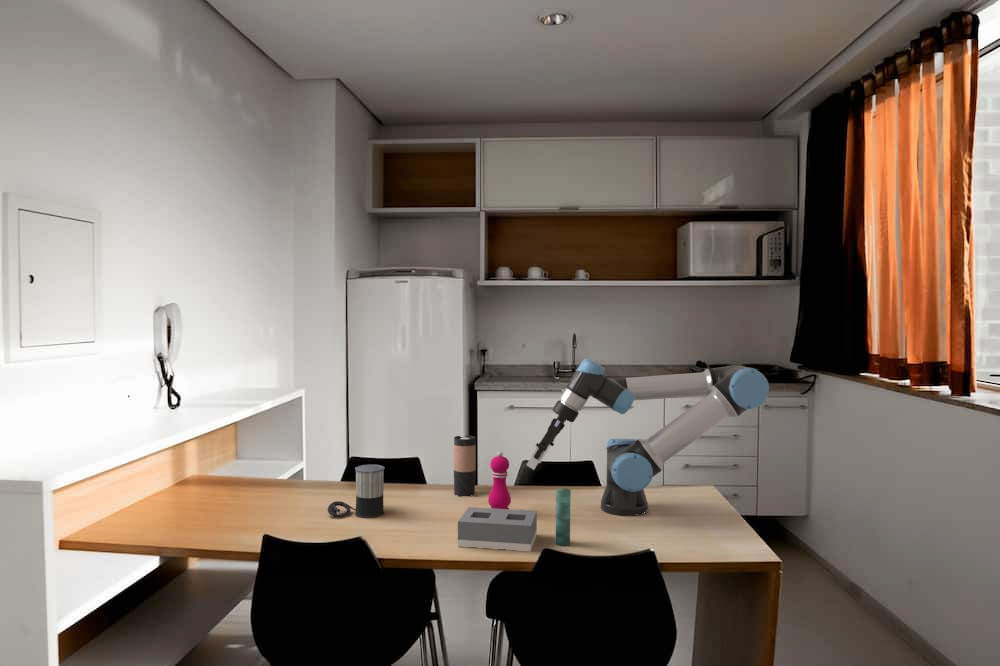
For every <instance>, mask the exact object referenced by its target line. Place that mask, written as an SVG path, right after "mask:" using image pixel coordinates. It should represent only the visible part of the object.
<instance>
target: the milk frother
mask: <svg viewBox="0 0 1000 666" xmlns="http://www.w3.org/2000/svg"><path fill="white" fill-rule="evenodd" d="M354 469H355V508H354V507H353V506H351V505H350V504H348V503H346V502H344V501H338V500H337V501H333V502H331V503H330V504H329V505H328V507H327V513H328V514H329V515H330V516H332V517H336V518H344V517H347V516H348V515H350V513H351V509H352V510H354V511H355V512H354V516H356V517H358V518H364V519H368V518H373V519H374V518H378V517H380V516H381V517H382V516H383V515H384V514H385V510H384V509H385V508H384V491H385V490H384V482H385V480H384V479H385V477H384V472H385V471H384V470H385V466H384V465H380V464H362V465H358V466H356V467H355V468H354ZM339 507H343V508H344V509H345V511H344V512H341V509H340V508H339ZM340 512H341V513H340Z"/></svg>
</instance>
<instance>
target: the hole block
mask: <svg viewBox="0 0 1000 666" xmlns="http://www.w3.org/2000/svg"><path fill="white" fill-rule="evenodd" d="M537 518H538V511H537V510H530V509H529V510H526V509H525V510H524V509H512V508H511V509H510V508H509V509H494V508H491V507H476V506H475V507H474V506H473V507H472V506H469V507H468V508H467V509H466V510H465V511H464V513H463V514H462V515H461V517H460V518H459V519H458V521H457V547H458V546H463V547H462V548H467V547H477V548H476V549H482V548H492V549H491V550H497V549H506V550H505V551H512V550H516V552H527V553H528V552H530V553H531V552H532V549H533V546H534V543H535V540H536V538H537V536H538V535H537V529H538V528H537V527H538V525H537V524H538V522H537V521H538V519H537Z"/></svg>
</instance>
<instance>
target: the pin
mask: <svg viewBox="0 0 1000 666" xmlns="http://www.w3.org/2000/svg"><path fill="white" fill-rule="evenodd" d="M555 545H556V546H559V547H567V546H570V545H571V489H569V488H564V487H562V488H557V489H555Z"/></svg>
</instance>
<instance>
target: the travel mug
mask: <svg viewBox="0 0 1000 666" xmlns="http://www.w3.org/2000/svg"><path fill="white" fill-rule="evenodd" d="M453 438H454V439H453V492H454V495H455V496H456V495H458V496H457V497H460V496H468V497H472V496H471V495H473V496H474V495H475V492H476V473H477V472H476V471H477V469H476V468H477V467H476V466H477V465H476V463H477V461H476V452H477V451H476V444H477V443H476V437H475V436H473V435H466V436H460V435H456V436H454V437H453Z"/></svg>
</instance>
